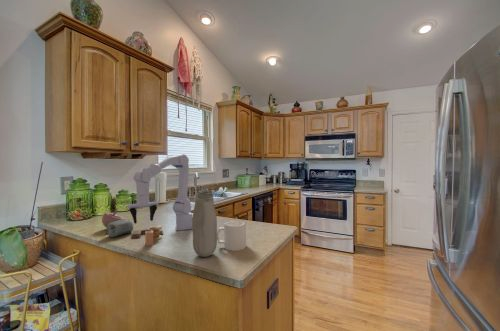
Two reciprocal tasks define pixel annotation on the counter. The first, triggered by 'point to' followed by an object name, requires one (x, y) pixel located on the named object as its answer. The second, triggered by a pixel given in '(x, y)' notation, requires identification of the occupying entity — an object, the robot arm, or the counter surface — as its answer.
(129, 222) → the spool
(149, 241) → the salmon pink cuboid
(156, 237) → the bobbin
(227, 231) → the mug
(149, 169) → the robot arm
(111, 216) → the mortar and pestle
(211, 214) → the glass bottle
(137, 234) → the notched board
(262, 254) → the counter surface
